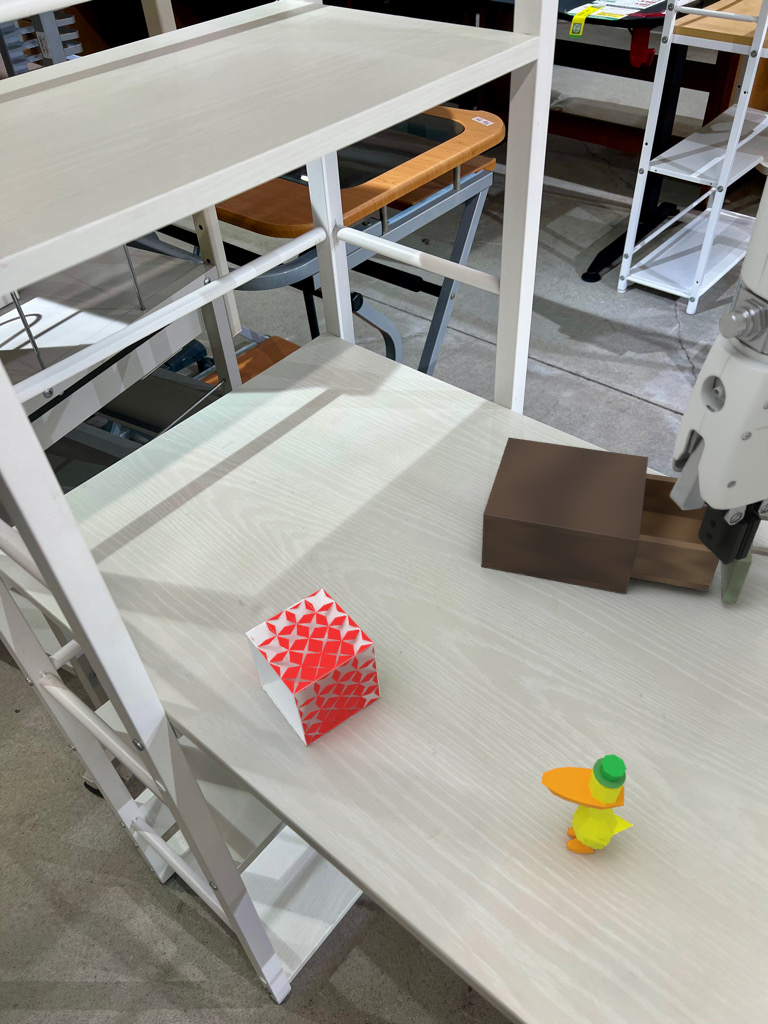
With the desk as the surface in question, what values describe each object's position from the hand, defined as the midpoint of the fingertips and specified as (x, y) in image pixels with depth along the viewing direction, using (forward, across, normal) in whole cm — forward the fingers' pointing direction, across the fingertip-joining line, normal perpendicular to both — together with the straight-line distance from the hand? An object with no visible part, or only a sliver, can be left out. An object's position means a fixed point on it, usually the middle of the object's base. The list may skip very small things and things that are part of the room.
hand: (720, 547), depth 53 cm
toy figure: (+18, -14, -8) cm, 25 cm away
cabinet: (+18, +1, +20) cm, 27 cm away
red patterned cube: (+19, -29, +12) cm, 36 cm away
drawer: (+17, +11, +13) cm, 24 cm away
